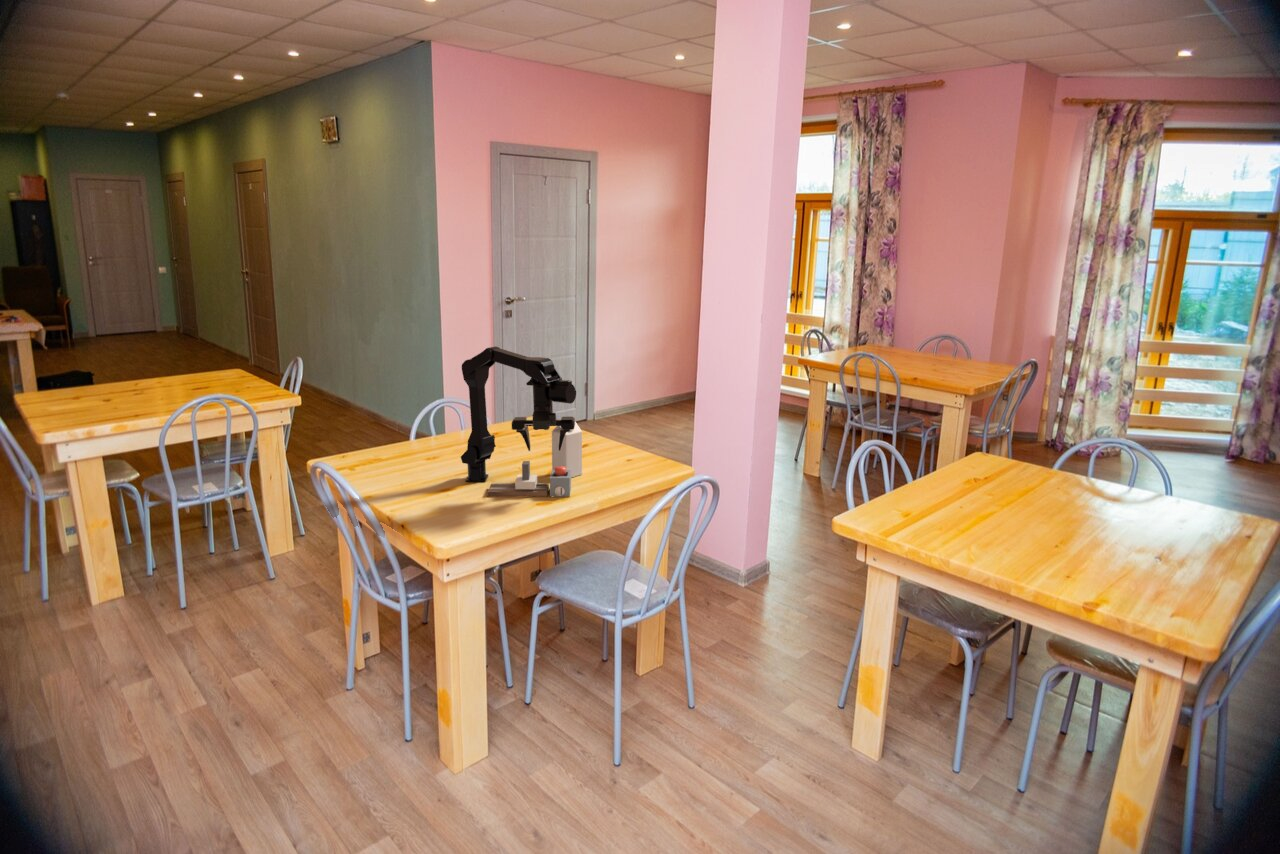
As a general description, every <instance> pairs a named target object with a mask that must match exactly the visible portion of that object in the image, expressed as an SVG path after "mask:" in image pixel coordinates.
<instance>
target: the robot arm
mask: <svg viewBox="0 0 1280 854" xmlns="http://www.w3.org/2000/svg"><path fill="white" fill-rule="evenodd" d="M496 363H498V364H501V365H504V366H507V367H510V368H513V369H517V370H520V371H522V372H523V373H524V374H525V375H526V376H528V377H530V379H529V380H528V381H527V382H526V383H525V384H526V386H532V401H533V402H532V403H533V412H532V419H527V416H516V417H515V416H514V418H513V419H512V421H511V430H512V431H515V432H516V433H519V434H520V435H521V436H522V438H523V441H524V443H525V445H526V448H527V450H528V452H531V440H530V432H529V427H533V428H532V429H533V430H534V431H538V430H543V431H548V430H550V427H556V426H561V429H560V438H559V451H560V450H561V446H562V442H563V439H564V436H565V434H566V432H570V429H574V427H575V422H576V417H574V416H561V418H560V419H557V413H556V412H554V409H553V402H554V403H561V404H569V405H570V404H573V403H574V402H575V400H576V397H577V389H576V387H575V385H574V384H573V381H572V380H571V379H568V380H567V379H566V380H565V379H564V380H563V378H562V376H561V375H560V373H559V371H558V370H557V368H556V367H555V364H554V361H553V360H552V359H551V358H549V357H543V356H542V357H540V356H539V357H538V356H535V357H534V356H532V357H531V356H526V355H523V354H519V353H516V352H513V351H510V350H507V349H503V348H500V347H498V346H490V347H487V348H485V349H484V350H483V351H481V352H480V353H478V354H476V355H474V356H473V357H471V358H470V359H466V360H464V361H463V363H461V373H462V377H463V381H464V383H466V385H467V387H468V394H469V409H470V411H469V412H470V423H471V433H470V434H469V437H468V439H467V446H466V450H465V451H464V453H463V454H462V455H461V456H460V459H461V462H462V464H465V465H467V477H466V478H465V480H464V481H465V482H466V483H467V482H470V483H471V482H472V483H474V482H476V483H477V482H478V483H480V482H484V483H485V482H487V480H488V478H489V474H487V470H486V468H487V467H486V461H487V460H490V459H491V457H492V454H493V453H494V452H495V448H496V446H497V445H496V442H495V440H496V439H495V438H496V437H495V435H494V434H491V433H490V432H489V430H488V419H487V418H488V416H487V402H486V384H487V381H488V380H489V376H490V368H492V366H494V365H495V364H496Z"/></svg>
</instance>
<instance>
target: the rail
mask: <svg viewBox="0 0 1280 854" xmlns="http://www.w3.org/2000/svg"><path fill="white" fill-rule="evenodd" d="M548 489H549V490H550V483H546V482H545V483H543V482H541V483H540V482H537V485H536V488H535V489H515V482H491V484H490V485H489V487H488V489H487V493H486V495H487V496H486V497H487V498H488V497H492V498H493V497H495V498H496V497H497V498H499V497H500V498H501V497H504V498H505V497H508V498H509V497H511V498H512V496H547V497H548V494H547V493H549V490H548Z"/></svg>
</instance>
